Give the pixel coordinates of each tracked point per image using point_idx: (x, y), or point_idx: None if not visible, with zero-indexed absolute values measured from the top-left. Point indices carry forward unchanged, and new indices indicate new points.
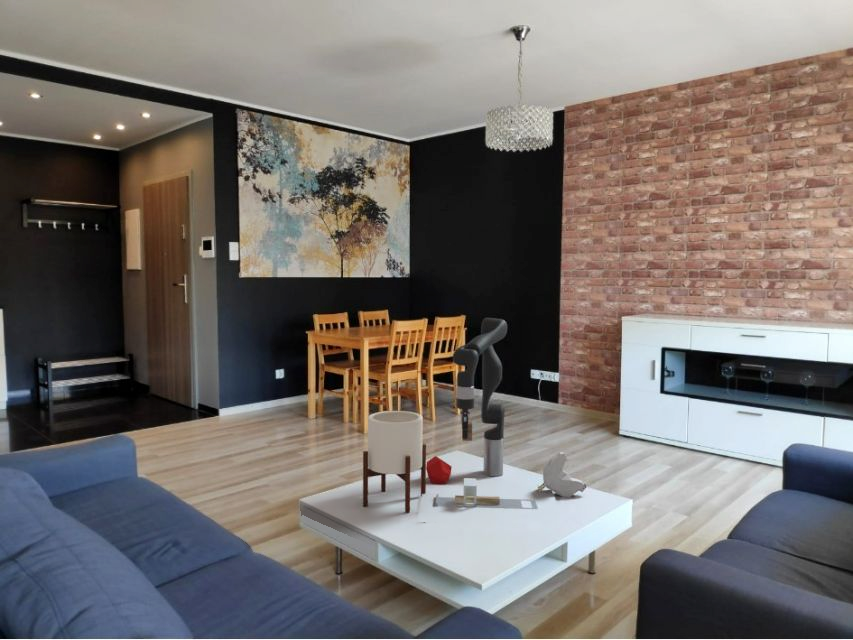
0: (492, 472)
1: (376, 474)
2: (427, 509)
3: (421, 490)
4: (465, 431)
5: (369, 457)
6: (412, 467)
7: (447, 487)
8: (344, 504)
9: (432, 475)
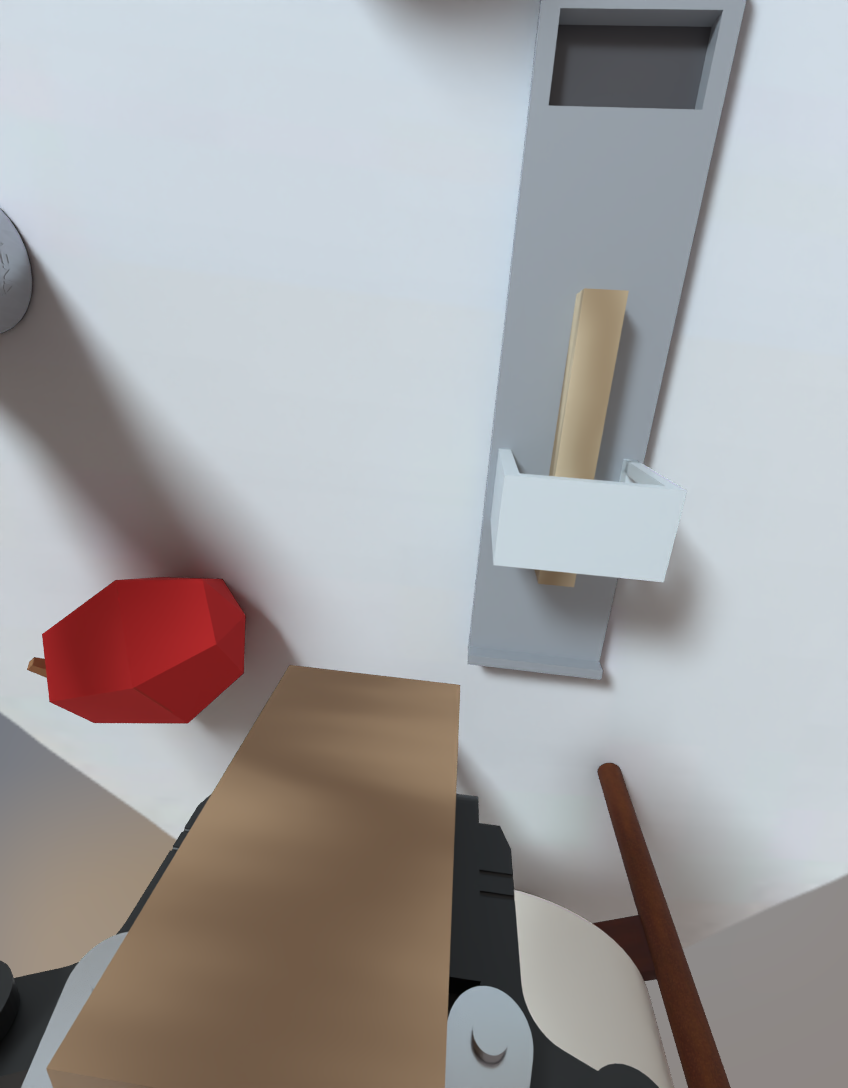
0: (9, 271)
1: None
2: (583, 692)
3: None
4: (502, 982)
5: None
6: (628, 983)
7: (274, 575)
8: None
9: (236, 678)
